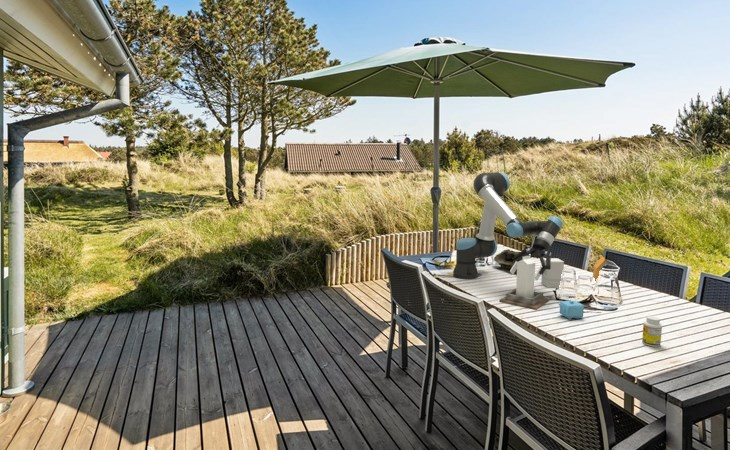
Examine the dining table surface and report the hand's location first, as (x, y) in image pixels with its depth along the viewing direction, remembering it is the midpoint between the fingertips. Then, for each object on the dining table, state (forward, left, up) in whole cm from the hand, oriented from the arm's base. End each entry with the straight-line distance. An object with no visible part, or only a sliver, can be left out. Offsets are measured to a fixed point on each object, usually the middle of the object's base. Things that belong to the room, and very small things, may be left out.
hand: (523, 275), depth 195 cm
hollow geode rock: (-29, +59, -14) cm, 67 cm away
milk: (+1, +2, -13) cm, 13 cm away
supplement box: (+2, +40, -14) cm, 42 cm away
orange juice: (+27, +39, -14) cm, 49 cm away
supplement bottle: (+55, -17, -14) cm, 59 cm away
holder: (+1, +2, -13) cm, 14 cm away
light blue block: (+24, -7, -14) cm, 28 cm away
